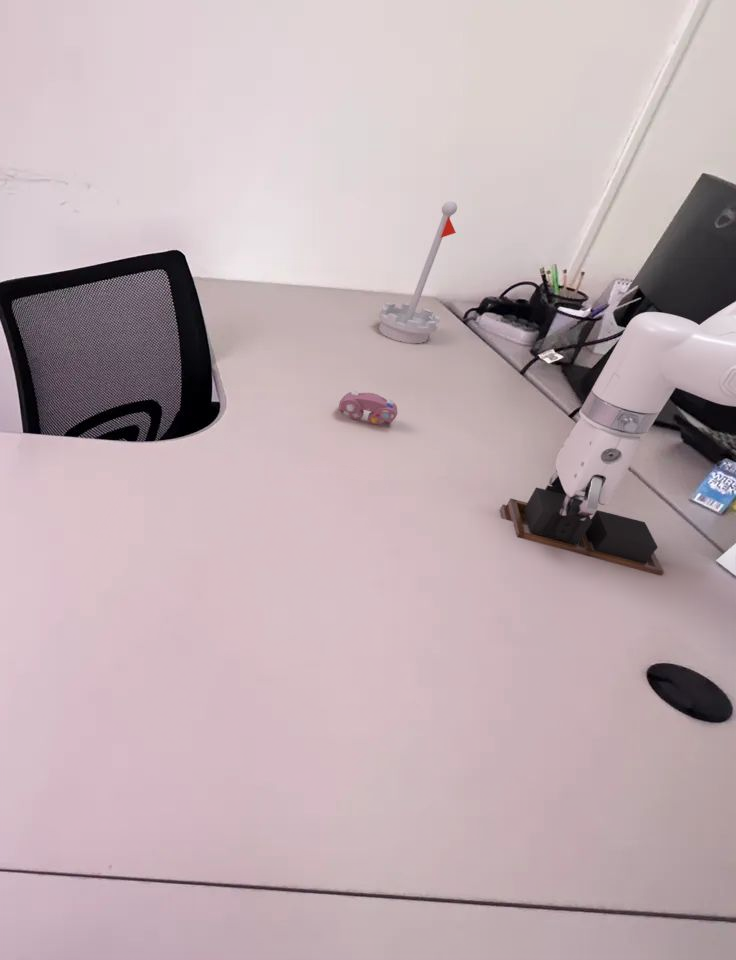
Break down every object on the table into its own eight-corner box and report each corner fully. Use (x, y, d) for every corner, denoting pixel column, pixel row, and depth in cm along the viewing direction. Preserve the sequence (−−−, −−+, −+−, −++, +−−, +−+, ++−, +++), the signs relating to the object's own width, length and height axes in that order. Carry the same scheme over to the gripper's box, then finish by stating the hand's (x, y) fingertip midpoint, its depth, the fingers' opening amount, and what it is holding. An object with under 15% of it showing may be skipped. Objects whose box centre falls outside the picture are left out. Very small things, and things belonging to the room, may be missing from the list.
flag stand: (365, 322, 165) (408, 192, 148) (414, 324, 166) (462, 196, 149) (390, 344, 154) (439, 206, 137) (442, 346, 156) (497, 211, 139)
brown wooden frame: (636, 545, 97) (646, 531, 96) (657, 588, 89) (668, 574, 88) (499, 509, 102) (507, 496, 100) (508, 548, 94) (516, 534, 93)
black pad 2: (629, 543, 96) (645, 521, 93) (641, 569, 91) (658, 547, 89) (582, 531, 97) (596, 509, 95) (592, 556, 92) (607, 534, 90)
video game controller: (333, 422, 123) (341, 398, 117) (338, 403, 125) (347, 379, 119) (389, 436, 121) (400, 413, 115) (393, 416, 123) (405, 393, 117)
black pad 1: (568, 520, 97) (582, 498, 95) (577, 545, 92) (592, 522, 90) (523, 509, 99) (536, 487, 96) (529, 532, 94) (543, 509, 92)
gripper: (674, 452, 77) (595, 569, 87) (632, 391, 91) (568, 499, 101) (600, 436, 79) (531, 552, 89) (571, 379, 93) (514, 485, 103)
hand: (552, 523), depth 95 cm, fingers closed on black pad 1, 5 cm apart
